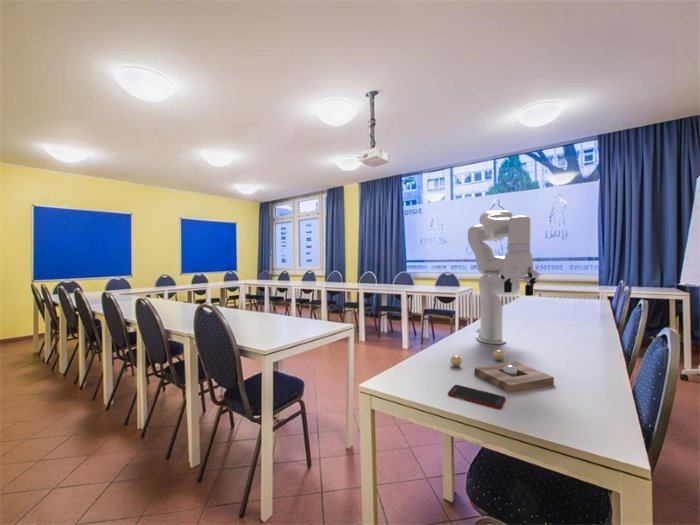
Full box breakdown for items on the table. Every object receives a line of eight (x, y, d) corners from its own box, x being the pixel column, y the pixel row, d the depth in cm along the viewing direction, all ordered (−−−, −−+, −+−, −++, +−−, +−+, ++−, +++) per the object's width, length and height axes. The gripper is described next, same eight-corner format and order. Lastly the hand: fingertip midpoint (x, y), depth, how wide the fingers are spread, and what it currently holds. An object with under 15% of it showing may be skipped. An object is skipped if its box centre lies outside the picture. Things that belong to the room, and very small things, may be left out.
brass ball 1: (448, 365, 116) (448, 354, 115) (457, 363, 117) (457, 353, 117) (455, 369, 112) (455, 358, 112) (464, 367, 113) (464, 356, 113)
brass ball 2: (490, 359, 122) (491, 349, 122) (498, 357, 123) (499, 347, 123) (498, 362, 118) (498, 352, 118) (506, 361, 119) (507, 351, 119)
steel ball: (502, 380, 104) (497, 366, 105) (512, 378, 105) (508, 364, 107) (512, 379, 100) (507, 364, 101) (522, 377, 101) (517, 363, 103)
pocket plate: (474, 374, 107) (474, 367, 106) (514, 368, 112) (514, 361, 112) (509, 393, 92) (509, 385, 92) (553, 384, 98) (553, 377, 98)
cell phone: (501, 411, 83) (501, 407, 83) (446, 396, 92) (446, 393, 91) (506, 400, 89) (506, 396, 89) (455, 387, 98) (455, 384, 98)
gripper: (493, 249, 124) (493, 291, 125) (531, 248, 108) (530, 297, 108) (508, 249, 126) (507, 290, 127) (547, 248, 110) (546, 296, 111)
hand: (518, 293), depth 118 cm, fingers open, 9 cm apart
